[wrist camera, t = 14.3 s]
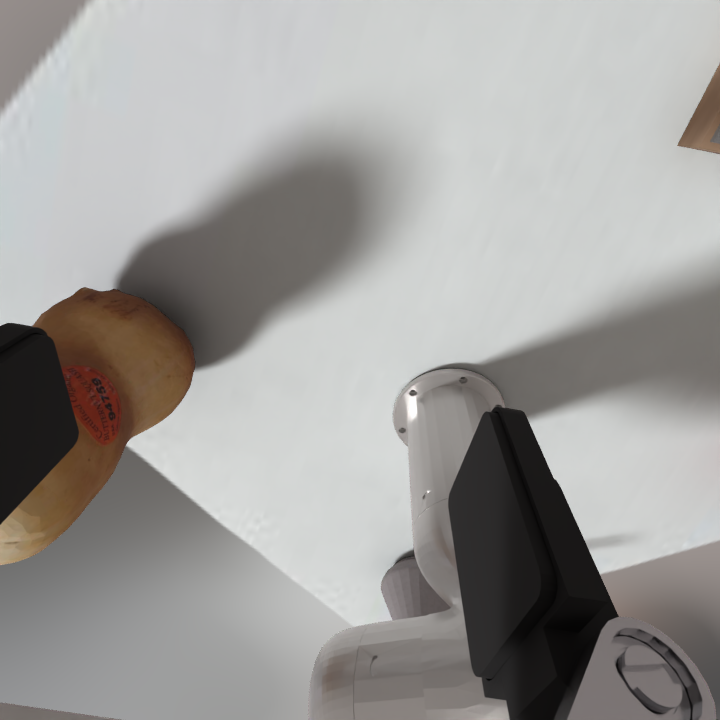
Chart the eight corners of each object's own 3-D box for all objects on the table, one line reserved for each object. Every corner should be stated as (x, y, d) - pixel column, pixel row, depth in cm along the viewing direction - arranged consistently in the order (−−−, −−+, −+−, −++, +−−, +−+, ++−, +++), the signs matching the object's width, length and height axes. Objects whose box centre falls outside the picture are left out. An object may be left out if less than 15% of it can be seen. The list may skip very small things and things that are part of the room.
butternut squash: (237, 358, 45) (100, 582, 24) (149, 399, 49) (-37, 622, 27) (150, 246, 39) (-141, 414, 17) (57, 303, 43) (-273, 496, 21)
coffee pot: (393, 594, 68) (394, 706, 55) (371, 554, 62) (366, 668, 50) (524, 577, 63) (558, 696, 50) (513, 533, 58) (548, 653, 45)
